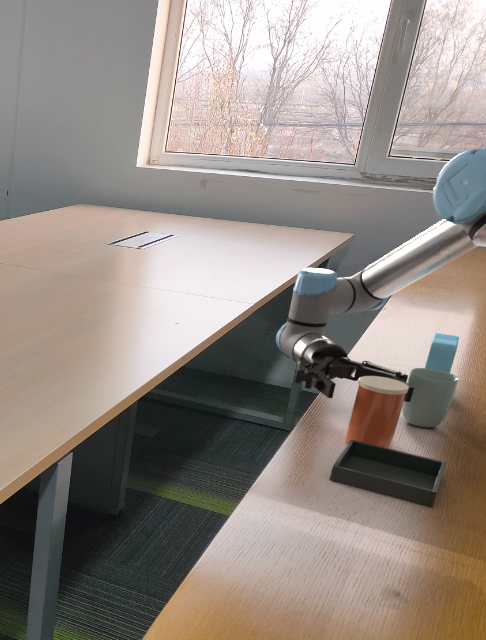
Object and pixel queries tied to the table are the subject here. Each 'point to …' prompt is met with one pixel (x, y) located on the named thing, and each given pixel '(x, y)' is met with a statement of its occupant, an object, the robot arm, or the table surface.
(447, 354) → the blue upright block
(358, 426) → the orange lidded canister
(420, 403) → the cup
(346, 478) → the tray
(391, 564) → the table surface
